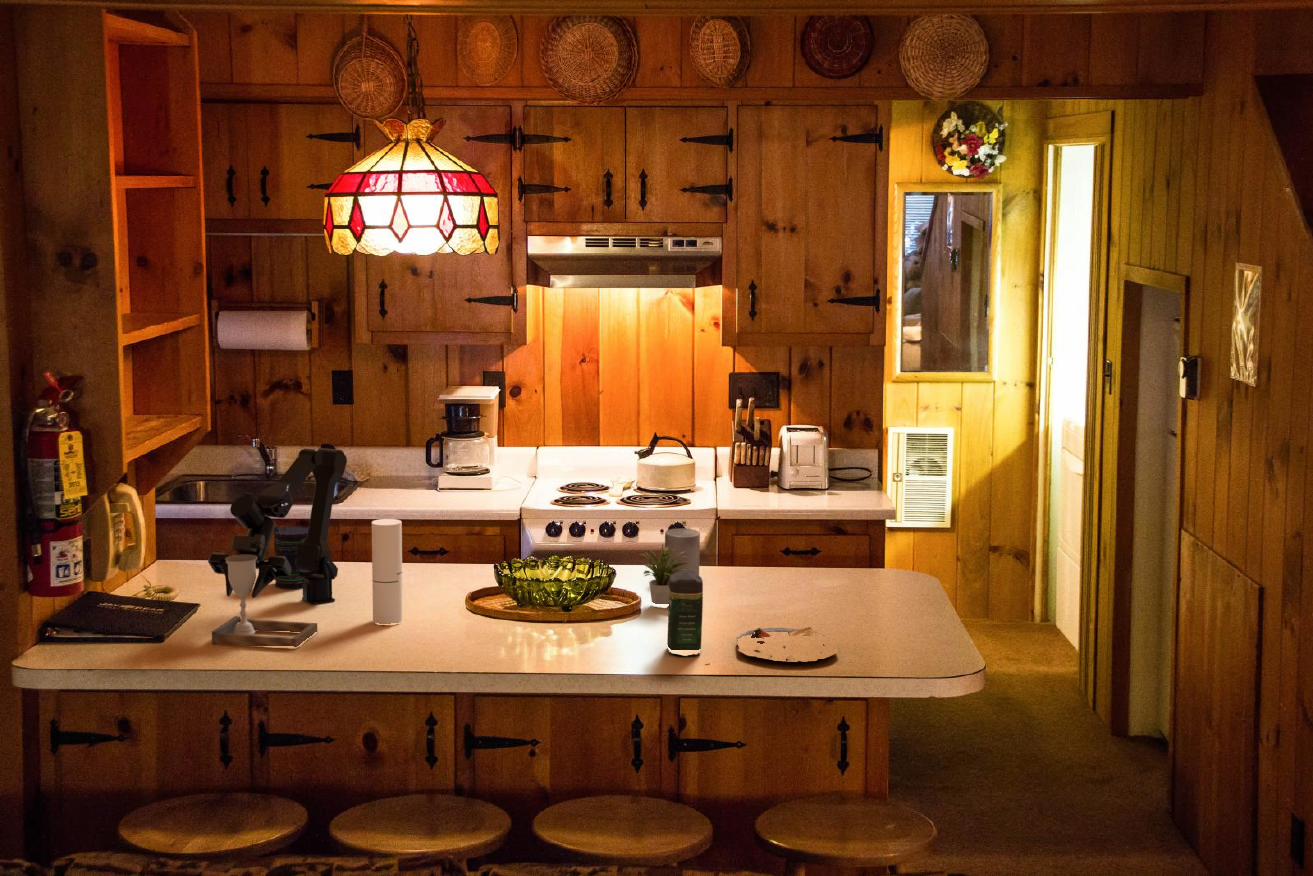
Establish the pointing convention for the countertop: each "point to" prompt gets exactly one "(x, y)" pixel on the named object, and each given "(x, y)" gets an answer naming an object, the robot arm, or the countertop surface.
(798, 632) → the food plate
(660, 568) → the house plant
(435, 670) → the countertop surface
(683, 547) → the pillar candle
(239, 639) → the rectangular frame
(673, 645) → the coffee jar
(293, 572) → the storage jar
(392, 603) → the cylindrical container
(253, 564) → the chalice
